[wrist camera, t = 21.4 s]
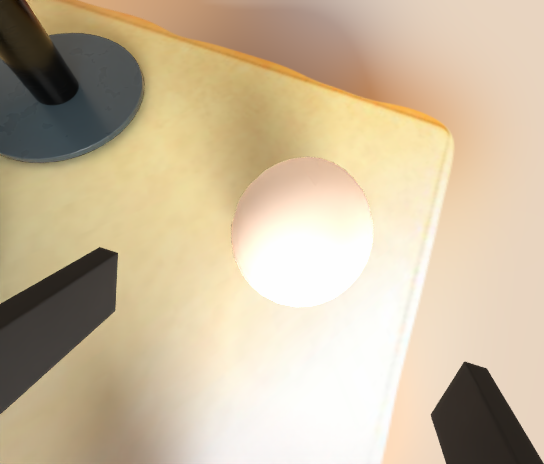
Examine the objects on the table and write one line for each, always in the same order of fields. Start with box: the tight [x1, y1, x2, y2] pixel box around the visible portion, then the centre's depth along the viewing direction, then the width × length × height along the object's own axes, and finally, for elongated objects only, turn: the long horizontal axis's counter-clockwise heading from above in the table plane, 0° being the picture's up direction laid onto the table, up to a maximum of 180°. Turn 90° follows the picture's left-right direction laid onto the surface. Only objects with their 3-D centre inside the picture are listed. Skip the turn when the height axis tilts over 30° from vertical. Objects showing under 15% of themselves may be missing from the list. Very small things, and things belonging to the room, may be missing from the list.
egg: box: [231, 157, 374, 307], centre depth 20 cm, size 9×9×12 cm
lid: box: [0, 0, 144, 163], centre depth 26 cm, size 16×16×10 cm
